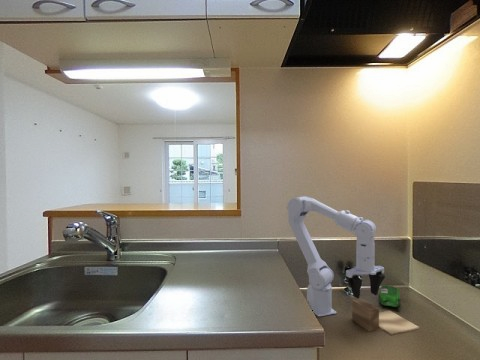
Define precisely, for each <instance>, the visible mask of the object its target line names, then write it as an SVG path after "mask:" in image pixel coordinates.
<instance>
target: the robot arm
mask: <svg viewBox="0 0 480 360" xmlns="http://www.w3.org/2000/svg"><path fill="white" fill-rule="evenodd" d="M286 209H287V211H288V212H287V213H288V214H287V215H288V224H289V226H290V228H291V230H292V233H293V234H294V237H295V240H296V241H297V244H298V247H299V248H300V251H301V252H302V254H303V256H304V259H305V261H306V263H307V270H306V272H307V275H308V283H309V284H308V286H307V288H306V302H307V301H308V303H309V305H310V306H311V308H312V310H313V312H314V313H313V312H312V313H313V314H315V315H316V316H317V317H324V316H330V315H335V314H337V311H336V310H334V308H332V301H333V299H332V295H333V294H332V282H333V280H334V278H335V277H334V276H335V274H334V271H333V270H332V269H331V268H330V267H329V265H328V264H327V262H326V261H324V260H323V259H322V258H321V256H320V254H319V252H318V250H317V248H316V245H315V244H314V241H313V239H312V236H311V235H310V233H309V231H308V229H307V226H306V225H305V223H304V221H305V218H306V217H307V214H308V213H309V212H316V213H317V214H318V213H319V214H320V215H323V216H325V217H328V218H330V219H332V220H334V222H335V224H336V225H337V226H339V227H341V228H343V229H345V230H347V231H349V232H351V233H354V236H355V237H356V253H355V254H356V259H355V260H356V262H355V265H356V266H355V267H353V268H350V269H347V270H345V278H346V279H347V281H348V283H349V285H350V288H351V292H352V296H353V298H356V299H360V296H361V285H362V282H363V280H362V279H361V278H360V277H359V276H366V275H368V277H369V282H370V283H369V285H370V294H372V295H374V296H378V293H379V291H380V288H381V286H382V285H381V284H382V283H383V281H384V280H385V277H386V276H385V267H383V266H382V265H375V262H376V261H375V257H376V256H375V255H376V254H375V253H376V251H375V250H376V248H375V247H376V245H375V234H376V233H377V225H376V224H375V222H373V221H372V220H370V219H364V217H362V216H360V217H359V216H357V215H354V214H352V213H351V211H350V210H347V209H346V210H340V211H338V210H336V209H334V208H333V207H330V206H328V205H327V204H325V203H323V202H321V201H319V200H317V199H315V198H313V197H309V196H308V195H302V196H298V197H297V196H295V197H292V198H290V199H289V201H288V203H287V205H286Z"/></svg>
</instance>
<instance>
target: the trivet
mask: <svg viewBox="0 0 480 360" xmlns="http://www.w3.org/2000/svg"><path fill="white" fill-rule="evenodd" d="M379 329H382V330H383V331H384V332H386V333H387V334H389V336H394V335H398V334H402V333H406V332H411V331H415V330H419V329H420V326H419V325H416V324H414V322H412V321H409V320H408V319H406V318H404V317H402V316H400V315H398V314H397V313H395V312H394V311H391V310H385V311H379Z"/></svg>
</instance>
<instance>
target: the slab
mask: <svg viewBox="0 0 480 360" xmlns="http://www.w3.org/2000/svg"><path fill="white" fill-rule="evenodd" d="M351 302H352V303H351V305H352V306H351V307H352V309H351V310H352V311H351V313H352V314H351V315H352V316H351V320H353V322H355V323H357V324H358V325H359V326H360V327H362V328H364V329H365V330H366V331H368V332H374V331H378V329H379V330H380V327H379V313H380V308H379V307H377V306H376V305H373V304H371V303H370V302H369V301H366V300H365V299H363V298H356V299H352V301H351Z"/></svg>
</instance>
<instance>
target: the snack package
mask: <svg viewBox="0 0 480 360" xmlns="http://www.w3.org/2000/svg"><path fill="white" fill-rule="evenodd" d="M379 302H380V303H381V305H383V306H387V307H393V308H397V307H399V306H400V305H401V303H400V302H401V295H400V289H399V287H397V286H394V285H387V284H384V285H380V288H379Z"/></svg>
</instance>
